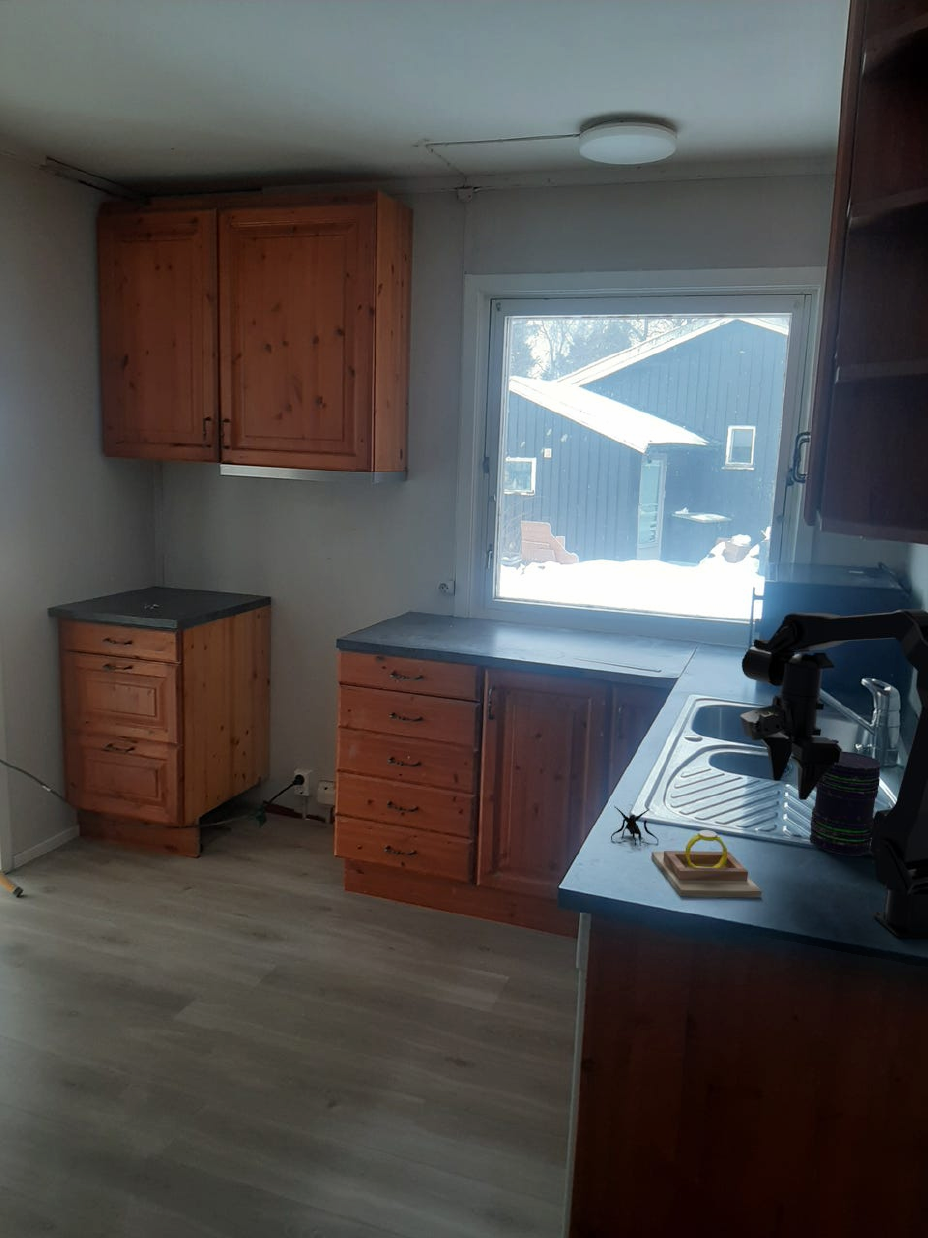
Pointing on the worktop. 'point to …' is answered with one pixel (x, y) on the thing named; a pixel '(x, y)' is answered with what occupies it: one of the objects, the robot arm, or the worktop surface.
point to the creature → (633, 827)
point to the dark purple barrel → (846, 805)
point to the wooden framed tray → (705, 875)
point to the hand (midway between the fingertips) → (789, 789)
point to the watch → (706, 836)
